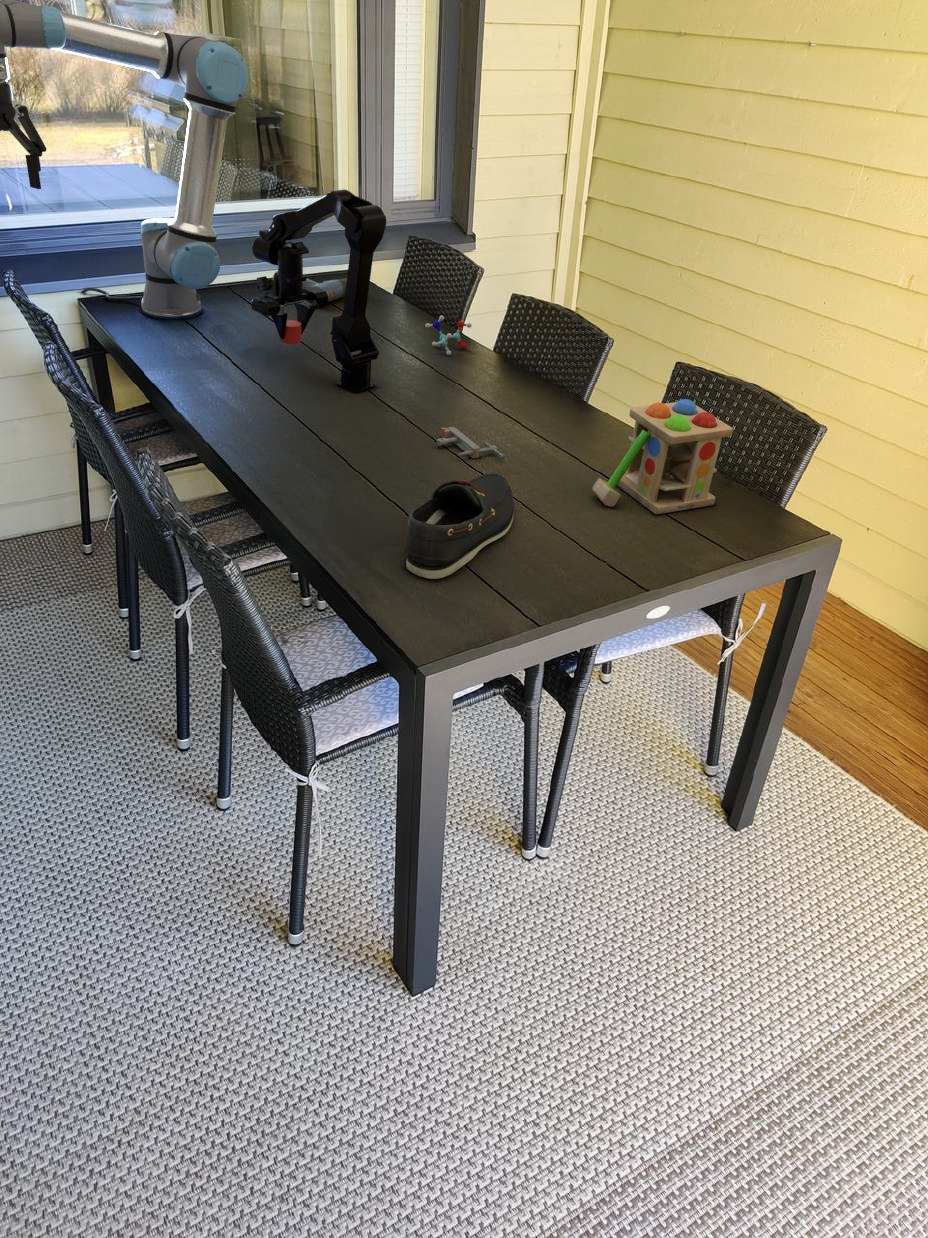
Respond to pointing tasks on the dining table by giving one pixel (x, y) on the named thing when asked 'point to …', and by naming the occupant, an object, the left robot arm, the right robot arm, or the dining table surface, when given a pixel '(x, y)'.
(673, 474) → the pounding bench toy
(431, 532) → the boat shoe
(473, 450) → the clamp
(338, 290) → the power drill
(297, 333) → the canister
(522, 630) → the dining table surface
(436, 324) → the molecular model
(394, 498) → the dining table surface
